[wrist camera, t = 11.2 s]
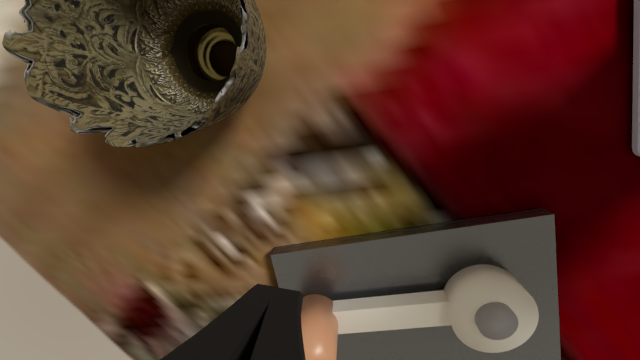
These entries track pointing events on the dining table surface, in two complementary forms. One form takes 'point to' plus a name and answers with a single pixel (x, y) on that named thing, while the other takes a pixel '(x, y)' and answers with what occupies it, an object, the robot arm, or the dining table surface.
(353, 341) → the lock base
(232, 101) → the cup
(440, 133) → the dining table surface
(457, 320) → the lever
